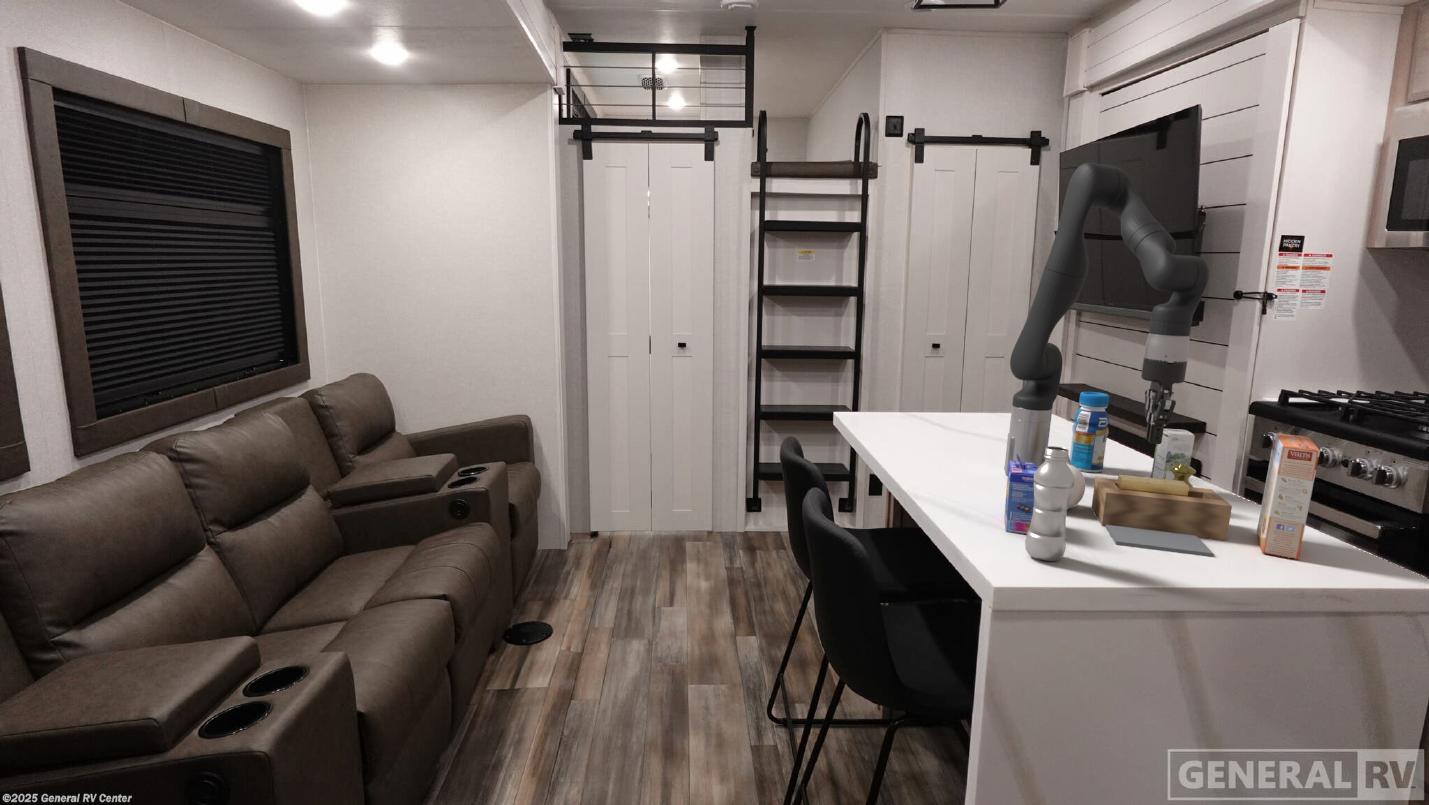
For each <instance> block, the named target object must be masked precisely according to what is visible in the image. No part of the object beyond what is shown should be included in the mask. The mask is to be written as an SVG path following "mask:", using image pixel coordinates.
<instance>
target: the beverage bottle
mask: <svg viewBox="0 0 1429 805" xmlns="http://www.w3.org/2000/svg"><path fill="white" fill-rule="evenodd" d="M1109 401H1110V395H1108V393H1103V392H1098V391H1097V392H1096V391H1095V392H1094V391H1082V392H1080V395H1079V406H1081V407H1080V408H1079V409H1078V410H1077V411H1076V413H1075V415H1074V417H1073V419H1074V423H1073V425H1072V427H1071V428H1072V429H1071V431H1072V436H1071V437H1072V438H1071V445H1070V451H1069V454H1070V455H1069V459H1070V463H1071V464H1072V465H1073V466H1075V467H1076V468H1078V469H1079V470H1080V472H1084V473H1101V472H1102V471H1103V470H1104V460H1105V454H1106V445H1107V440H1108V435H1109V427H1108V425H1109V424H1110V418H1109V415H1108V413H1107V411H1106V409H1108V406H1109Z"/></svg>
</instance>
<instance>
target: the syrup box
mask: <svg viewBox="0 0 1429 805" xmlns="http://www.w3.org/2000/svg"><path fill="white" fill-rule="evenodd" d="M1195 438H1196V437H1195V434H1194V433H1192V432H1190V431H1189V430H1186V429H1178V428H1177V429H1174V428H1164V429H1163V436H1162V443H1161V444H1155V449H1154V456H1153V461H1152V469H1151V473H1150V474H1151V475H1150V478H1156V479H1165V480H1172V479H1174V474H1173V473H1172V472H1171V471H1170V469H1169V468H1170V467H1171V466H1174V465H1178V464H1180V463H1182V464H1187V465H1188V466H1189V467H1191V460H1192V454H1193V450H1194V449H1193V448H1194V443H1195Z"/></svg>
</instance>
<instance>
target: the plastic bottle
mask: <svg viewBox="0 0 1429 805" xmlns="http://www.w3.org/2000/svg"><path fill="white" fill-rule="evenodd" d="M1069 454H1070V451H1069V448H1066V447H1061V446H1049V445H1048V447H1046V449H1045V455H1044V458H1045V459H1046V460H1045V462H1044V463H1043V464H1042V465H1041V466H1040V467H1039V468H1038V469H1037V470H1036V472H1035V474H1034V507H1033V514H1032V519H1031V524H1030V528H1029V530H1028V533H1027V534H1026V537H1025V540H1024V546H1025V550H1026V552H1027V554H1028V555H1029V556H1030V557H1032V558H1034V559H1038V560H1041V561H1042V560H1043V561H1047V562H1049V561H1051V562H1053V561H1059V560H1060V559H1062V558H1063V557H1064V554H1065V552H1066V549H1067V539H1066V519H1067V512H1068V511H1067V510H1068V509H1067V508H1068V503H1069V499H1070V496H1071V492H1072V489H1073V486H1074V475H1073V473H1072V472H1071V470H1070V468H1069V467H1068V465H1067V464H1066V461H1068V459H1070V456H1069V457H1068V455H1069Z"/></svg>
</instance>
